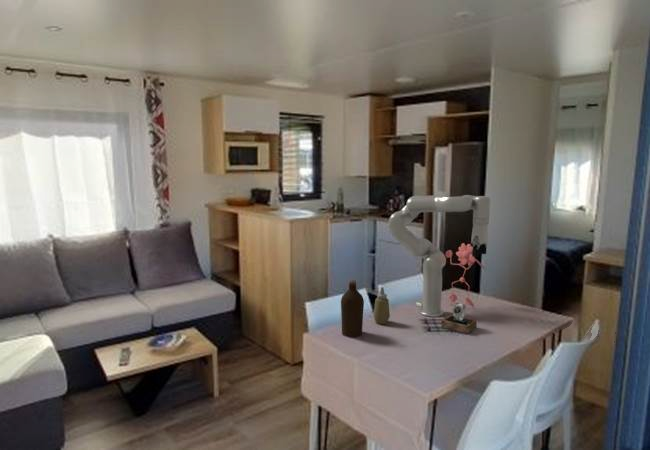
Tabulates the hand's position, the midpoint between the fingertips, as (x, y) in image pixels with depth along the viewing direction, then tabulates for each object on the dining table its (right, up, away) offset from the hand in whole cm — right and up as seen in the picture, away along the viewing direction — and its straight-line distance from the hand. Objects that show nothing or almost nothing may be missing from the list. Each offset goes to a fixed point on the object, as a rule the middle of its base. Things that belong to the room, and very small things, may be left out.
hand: (479, 255), depth 224 cm
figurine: (+2, -30, +29) cm, 41 cm away
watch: (-12, -34, -7) cm, 37 cm away
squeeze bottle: (-49, -34, 0) cm, 59 cm away
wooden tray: (-12, -35, -7) cm, 37 cm away
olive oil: (-64, -36, -14) cm, 75 cm away
